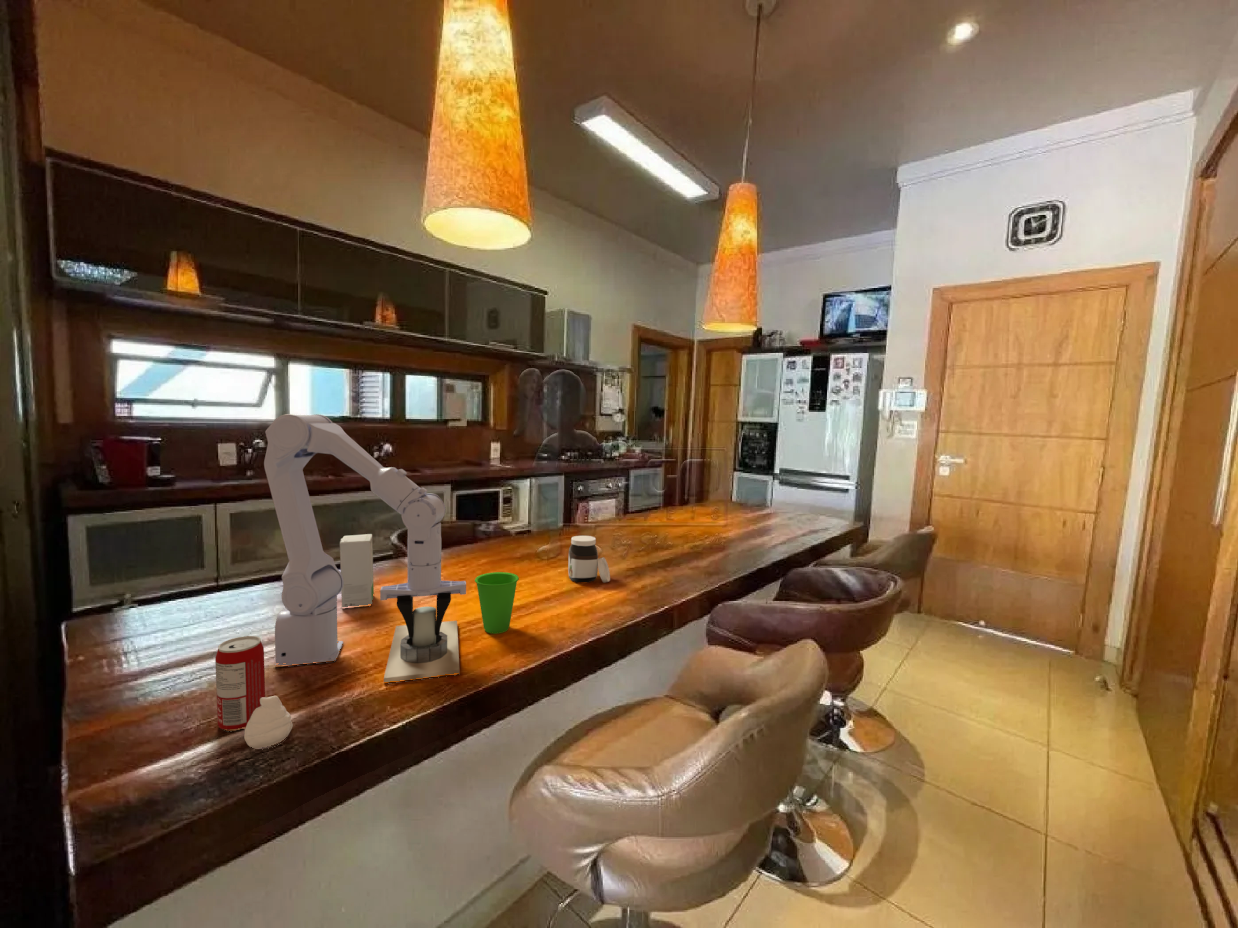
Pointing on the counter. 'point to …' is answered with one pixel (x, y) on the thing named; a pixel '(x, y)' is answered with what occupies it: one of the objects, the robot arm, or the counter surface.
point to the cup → (496, 599)
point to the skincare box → (357, 570)
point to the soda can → (239, 680)
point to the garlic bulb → (268, 723)
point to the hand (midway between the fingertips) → (424, 634)
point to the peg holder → (423, 655)
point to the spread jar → (586, 561)
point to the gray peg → (424, 626)
